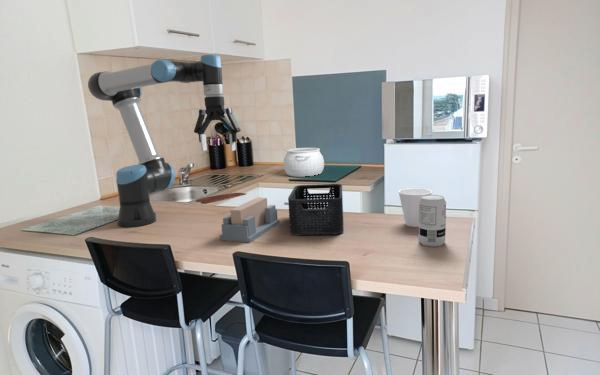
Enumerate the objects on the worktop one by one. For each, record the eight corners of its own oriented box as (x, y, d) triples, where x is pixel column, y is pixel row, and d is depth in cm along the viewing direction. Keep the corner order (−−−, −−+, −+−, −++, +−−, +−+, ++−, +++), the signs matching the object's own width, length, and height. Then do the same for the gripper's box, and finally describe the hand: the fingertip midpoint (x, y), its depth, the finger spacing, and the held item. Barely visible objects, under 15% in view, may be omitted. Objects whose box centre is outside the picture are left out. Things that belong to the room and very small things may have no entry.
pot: (325, 177, 264) (324, 150, 261) (282, 179, 265) (281, 152, 262) (323, 170, 292) (322, 146, 289) (285, 171, 293) (283, 148, 290)
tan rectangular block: (232, 234, 150) (230, 209, 148) (259, 219, 168) (257, 197, 166) (242, 235, 148) (240, 210, 147) (268, 220, 166) (266, 197, 165)
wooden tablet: (205, 205, 207) (204, 202, 206) (194, 202, 214) (194, 199, 213) (249, 195, 224) (249, 192, 224) (238, 193, 232) (238, 190, 231)
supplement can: (414, 239, 140) (414, 195, 137) (439, 238, 141) (439, 193, 138) (423, 248, 132) (424, 201, 129) (449, 246, 133) (450, 199, 130)
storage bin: (296, 215, 178) (295, 184, 176) (343, 214, 176) (342, 182, 174) (288, 236, 150) (286, 199, 148) (343, 235, 148) (342, 198, 146)
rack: (220, 239, 150) (218, 219, 149) (253, 221, 172) (251, 203, 170) (250, 242, 145) (248, 221, 144) (280, 223, 167) (279, 204, 166)
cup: (409, 218, 166) (409, 186, 163) (437, 223, 157) (438, 190, 155) (392, 225, 158) (392, 192, 155) (421, 230, 149) (421, 196, 147)
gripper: (181, 97, 167) (187, 151, 172) (236, 94, 158) (240, 151, 162) (193, 97, 174) (198, 149, 178) (246, 94, 165) (250, 149, 169)
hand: (218, 150), depth 170 cm, fingers open, 13 cm apart
